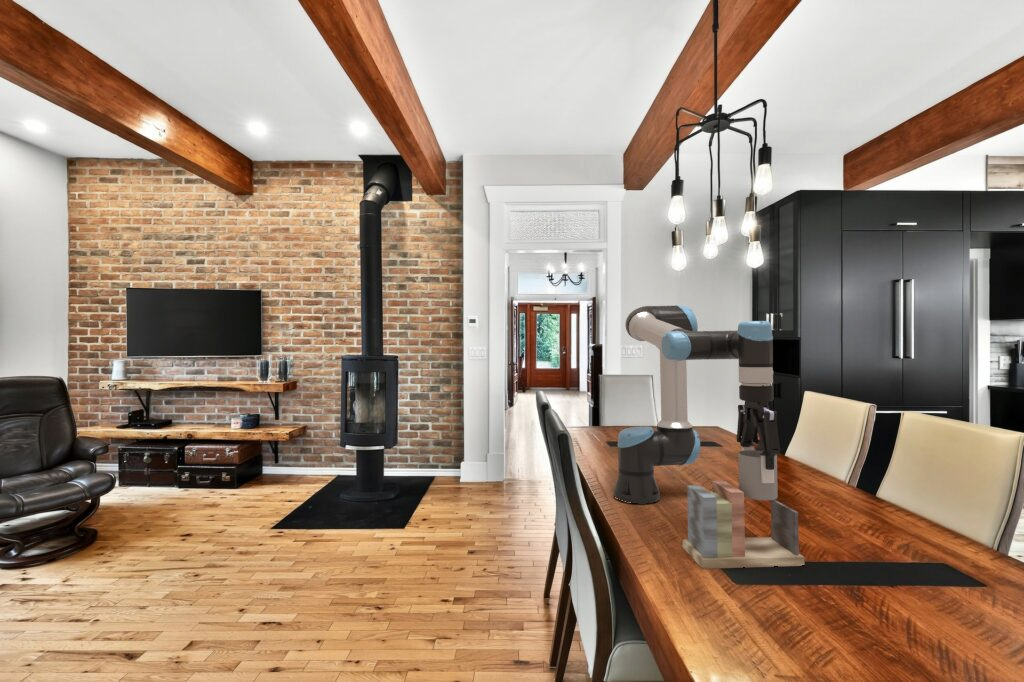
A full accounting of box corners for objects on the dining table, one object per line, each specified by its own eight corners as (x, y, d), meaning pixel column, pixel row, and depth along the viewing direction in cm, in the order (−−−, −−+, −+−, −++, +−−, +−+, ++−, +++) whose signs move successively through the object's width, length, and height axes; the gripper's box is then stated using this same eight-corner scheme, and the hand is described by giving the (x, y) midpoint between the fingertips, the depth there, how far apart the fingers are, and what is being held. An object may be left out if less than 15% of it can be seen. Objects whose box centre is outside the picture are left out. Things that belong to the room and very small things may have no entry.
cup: (762, 502, 115) (761, 459, 115) (731, 493, 122) (731, 452, 122) (785, 496, 119) (784, 455, 119) (754, 488, 126) (753, 449, 126)
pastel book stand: (682, 547, 126) (681, 480, 126) (775, 544, 127) (774, 478, 127) (702, 568, 114) (701, 494, 114) (804, 565, 115) (803, 492, 115)
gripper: (797, 387, 110) (799, 489, 110) (748, 381, 131) (750, 466, 131) (764, 388, 110) (766, 490, 110) (721, 381, 131) (722, 467, 131)
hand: (757, 477), depth 120 cm, fingers closed on cup, 8 cm apart
